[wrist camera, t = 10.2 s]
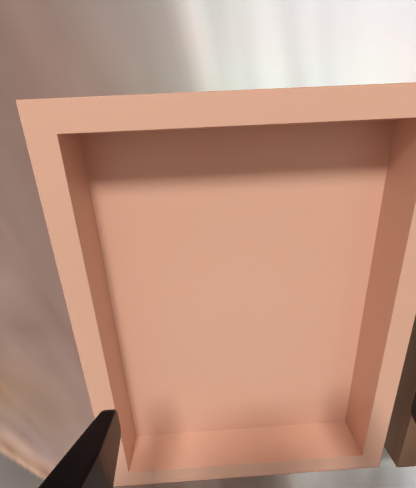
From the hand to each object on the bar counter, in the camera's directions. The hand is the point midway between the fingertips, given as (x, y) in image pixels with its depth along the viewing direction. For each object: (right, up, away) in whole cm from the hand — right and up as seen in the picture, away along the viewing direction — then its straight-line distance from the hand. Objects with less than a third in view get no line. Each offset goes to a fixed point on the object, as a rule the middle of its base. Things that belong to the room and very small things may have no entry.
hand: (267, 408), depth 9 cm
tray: (0, +2, +6) cm, 6 cm away
